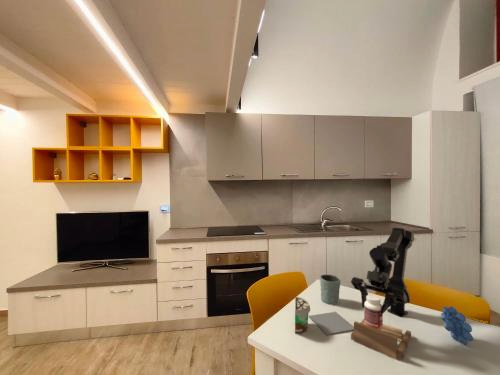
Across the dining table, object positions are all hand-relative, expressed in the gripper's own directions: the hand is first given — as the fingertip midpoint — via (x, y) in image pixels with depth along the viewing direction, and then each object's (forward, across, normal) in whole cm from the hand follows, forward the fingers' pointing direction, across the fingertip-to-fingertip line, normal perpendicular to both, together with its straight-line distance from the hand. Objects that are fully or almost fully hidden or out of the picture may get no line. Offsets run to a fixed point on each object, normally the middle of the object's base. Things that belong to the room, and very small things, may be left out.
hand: (371, 310), depth 89 cm
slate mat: (+8, -17, +10) cm, 21 cm away
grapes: (-9, +21, +27) cm, 35 cm away
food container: (+16, -24, +1) cm, 29 cm away
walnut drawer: (+5, +1, +13) cm, 14 cm away
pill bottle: (+4, 0, +6) cm, 7 cm away
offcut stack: (+2, +1, +17) cm, 17 cm away
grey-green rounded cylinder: (-5, -27, +23) cm, 36 cm away
